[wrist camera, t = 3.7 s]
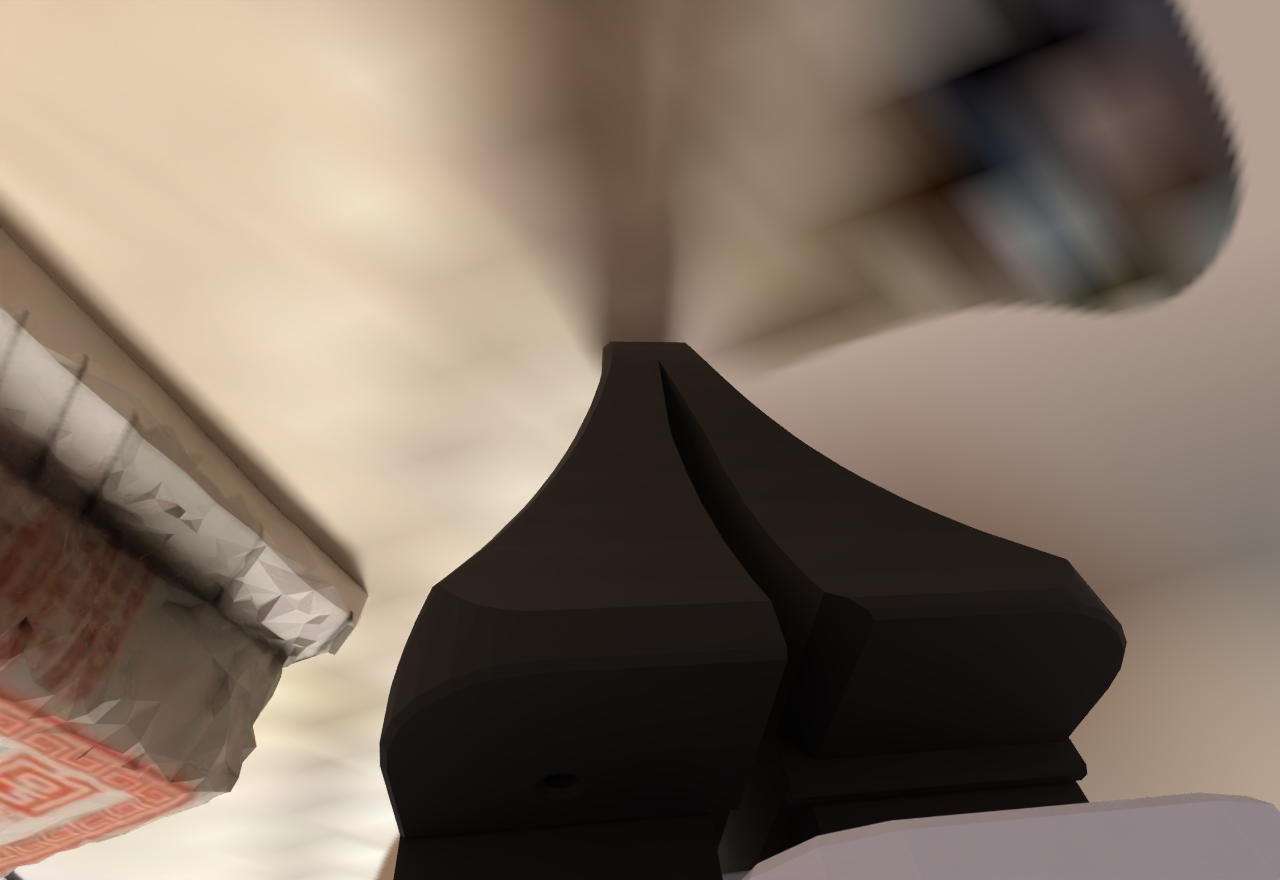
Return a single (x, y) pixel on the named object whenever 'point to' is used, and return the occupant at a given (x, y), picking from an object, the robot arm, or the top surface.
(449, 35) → the top surface
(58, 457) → the packaged product
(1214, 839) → the robot arm
